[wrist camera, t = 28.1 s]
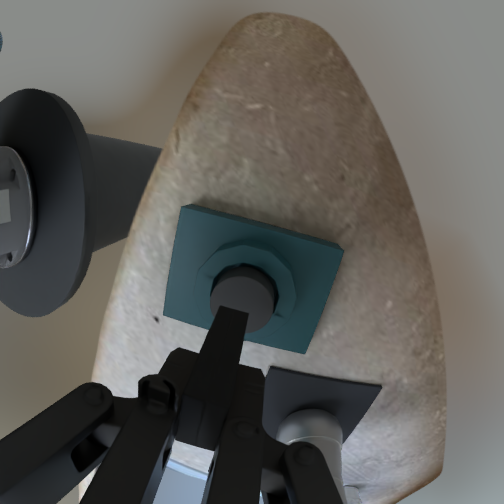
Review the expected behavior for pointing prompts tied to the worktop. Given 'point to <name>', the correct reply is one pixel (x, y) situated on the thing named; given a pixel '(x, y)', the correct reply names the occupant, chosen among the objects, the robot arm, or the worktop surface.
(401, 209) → the worktop surface
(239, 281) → the button
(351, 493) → the white cup
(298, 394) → the mat
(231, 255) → the teal pump base
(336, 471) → the silver bottle
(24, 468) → the robot arm
